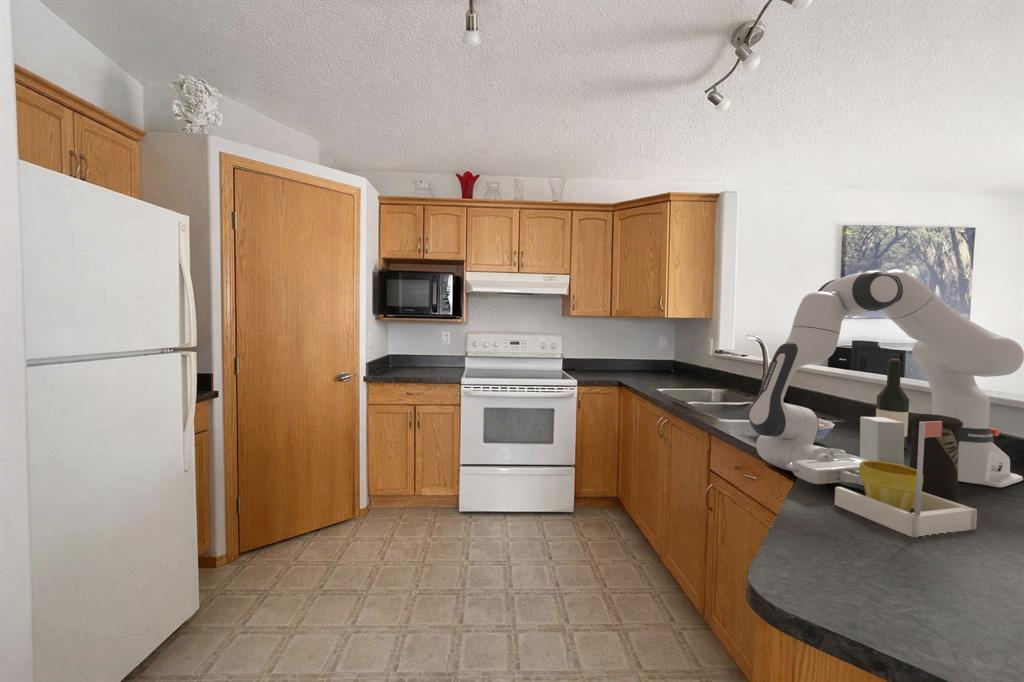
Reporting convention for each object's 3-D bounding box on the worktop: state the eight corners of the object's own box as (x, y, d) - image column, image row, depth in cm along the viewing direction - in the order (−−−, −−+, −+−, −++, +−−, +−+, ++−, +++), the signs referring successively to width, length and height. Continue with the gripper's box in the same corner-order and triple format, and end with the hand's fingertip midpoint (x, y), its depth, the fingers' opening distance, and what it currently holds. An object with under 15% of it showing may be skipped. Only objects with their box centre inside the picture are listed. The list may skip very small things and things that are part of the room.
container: (949, 509, 96) (954, 420, 95) (898, 495, 104) (903, 412, 103) (965, 502, 100) (970, 417, 99) (915, 489, 108) (919, 410, 107)
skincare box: (904, 482, 113) (907, 423, 113) (875, 480, 114) (878, 421, 114) (883, 471, 121) (886, 416, 121) (856, 469, 123) (859, 415, 122)
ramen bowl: (854, 449, 144) (855, 424, 144) (797, 452, 139) (798, 426, 139) (791, 430, 169) (792, 410, 168) (740, 432, 164) (741, 411, 163)
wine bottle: (913, 449, 145) (918, 360, 144) (888, 449, 145) (892, 359, 144) (892, 442, 153) (896, 358, 152) (868, 442, 153) (872, 357, 152)
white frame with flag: (891, 498, 102) (896, 405, 101) (976, 529, 87) (982, 420, 86) (834, 504, 98) (839, 407, 97) (912, 537, 83) (919, 423, 82)
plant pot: (892, 502, 99) (895, 460, 99) (934, 523, 89) (937, 476, 88) (846, 500, 100) (848, 459, 99) (882, 521, 89) (884, 474, 89)
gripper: (781, 452, 109) (834, 471, 96) (845, 448, 114) (903, 465, 101) (780, 477, 109) (832, 499, 96) (843, 472, 114) (902, 492, 101)
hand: (869, 481), depth 98 cm, fingers closed
